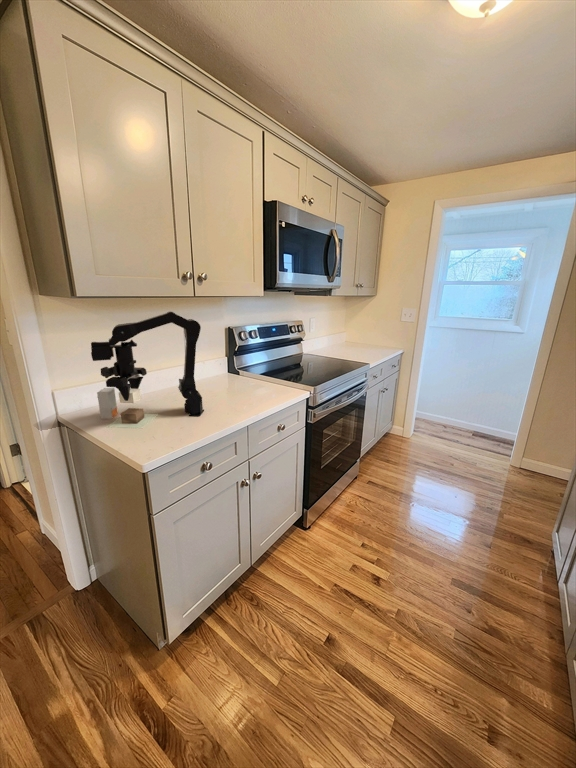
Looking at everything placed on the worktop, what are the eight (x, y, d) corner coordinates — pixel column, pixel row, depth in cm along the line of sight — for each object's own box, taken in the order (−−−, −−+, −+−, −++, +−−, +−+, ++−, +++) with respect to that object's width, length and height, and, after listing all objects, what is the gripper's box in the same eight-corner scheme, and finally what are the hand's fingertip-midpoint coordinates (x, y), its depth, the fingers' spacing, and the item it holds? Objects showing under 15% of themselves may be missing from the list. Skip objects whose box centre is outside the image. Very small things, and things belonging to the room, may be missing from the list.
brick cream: (141, 398, 125) (140, 388, 124) (133, 403, 120) (132, 393, 119) (127, 398, 126) (126, 388, 124) (119, 402, 120) (118, 392, 119)
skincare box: (112, 420, 127) (107, 392, 124) (101, 420, 127) (96, 392, 123) (118, 414, 133) (114, 387, 129) (108, 414, 132) (103, 387, 129)
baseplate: (158, 416, 132) (158, 414, 132) (142, 430, 118) (142, 428, 118) (125, 415, 132) (125, 413, 132) (106, 429, 119) (105, 427, 119)
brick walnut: (144, 417, 128) (143, 408, 127) (137, 423, 122) (135, 414, 121) (130, 417, 128) (128, 408, 127) (121, 423, 122) (120, 413, 121)
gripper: (117, 353, 127) (123, 390, 132) (87, 363, 109) (95, 406, 114) (144, 354, 127) (149, 390, 131) (119, 364, 109) (125, 406, 113)
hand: (130, 398), depth 122 cm, fingers closed on brick cream, 5 cm apart
